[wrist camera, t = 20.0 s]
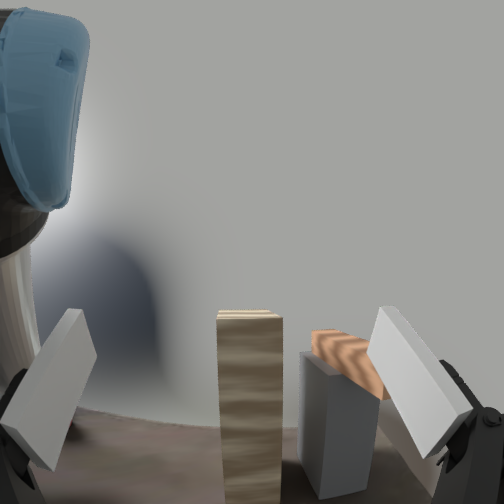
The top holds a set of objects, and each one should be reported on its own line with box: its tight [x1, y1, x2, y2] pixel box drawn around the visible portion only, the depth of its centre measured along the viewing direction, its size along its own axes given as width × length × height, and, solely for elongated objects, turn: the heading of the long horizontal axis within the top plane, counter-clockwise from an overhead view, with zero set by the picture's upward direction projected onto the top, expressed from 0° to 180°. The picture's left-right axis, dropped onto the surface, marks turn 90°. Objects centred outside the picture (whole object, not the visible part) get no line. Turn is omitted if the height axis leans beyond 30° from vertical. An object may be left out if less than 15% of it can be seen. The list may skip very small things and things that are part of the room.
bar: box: [312, 329, 391, 400], centre depth 38 cm, size 26×4×4 cm, turn 5°
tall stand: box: [216, 309, 283, 504], centre depth 42 cm, size 16×8×30 cm, turn 5°
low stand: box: [297, 351, 380, 500], centre depth 43 cm, size 16×8×22 cm, turn 5°
